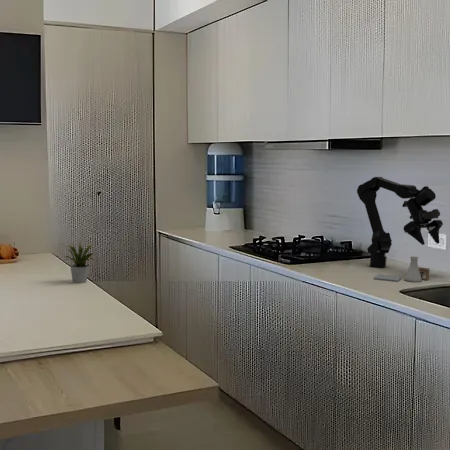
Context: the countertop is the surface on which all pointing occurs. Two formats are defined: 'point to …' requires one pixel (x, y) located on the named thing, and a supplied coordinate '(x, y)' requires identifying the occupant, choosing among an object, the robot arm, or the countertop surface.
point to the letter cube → (424, 273)
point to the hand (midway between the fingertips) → (431, 243)
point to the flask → (413, 271)
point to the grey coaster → (387, 277)
